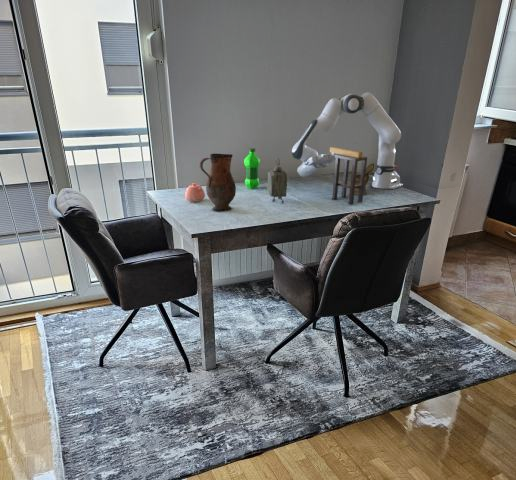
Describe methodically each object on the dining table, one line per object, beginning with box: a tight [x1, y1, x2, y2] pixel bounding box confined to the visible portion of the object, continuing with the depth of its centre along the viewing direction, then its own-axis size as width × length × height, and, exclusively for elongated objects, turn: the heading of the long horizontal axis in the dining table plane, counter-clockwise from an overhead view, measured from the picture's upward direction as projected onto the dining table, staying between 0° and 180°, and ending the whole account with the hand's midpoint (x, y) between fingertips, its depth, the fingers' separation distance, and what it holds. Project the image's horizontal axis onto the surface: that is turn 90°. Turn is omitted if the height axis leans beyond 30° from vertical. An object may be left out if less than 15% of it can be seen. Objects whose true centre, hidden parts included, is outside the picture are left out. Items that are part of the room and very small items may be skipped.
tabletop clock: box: [267, 157, 288, 204], centre depth 282 cm, size 14×9×25 cm, turn 9°
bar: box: [329, 146, 363, 158], centre depth 280 cm, size 3×24×3 cm, turn 37°
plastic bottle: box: [243, 147, 261, 190], centre depth 313 cm, size 10×10×25 cm
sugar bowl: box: [184, 182, 206, 203], centre depth 287 cm, size 12×14×10 cm
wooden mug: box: [354, 162, 375, 196], centre depth 303 cm, size 9×14×18 cm, turn 115°
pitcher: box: [199, 153, 237, 212], centre depth 264 cm, size 17×21×30 cm
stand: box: [332, 154, 368, 205], centre depth 284 cm, size 10×16×26 cm, turn 37°
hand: (329, 154), depth 291 cm, fingers open, 8 cm apart
